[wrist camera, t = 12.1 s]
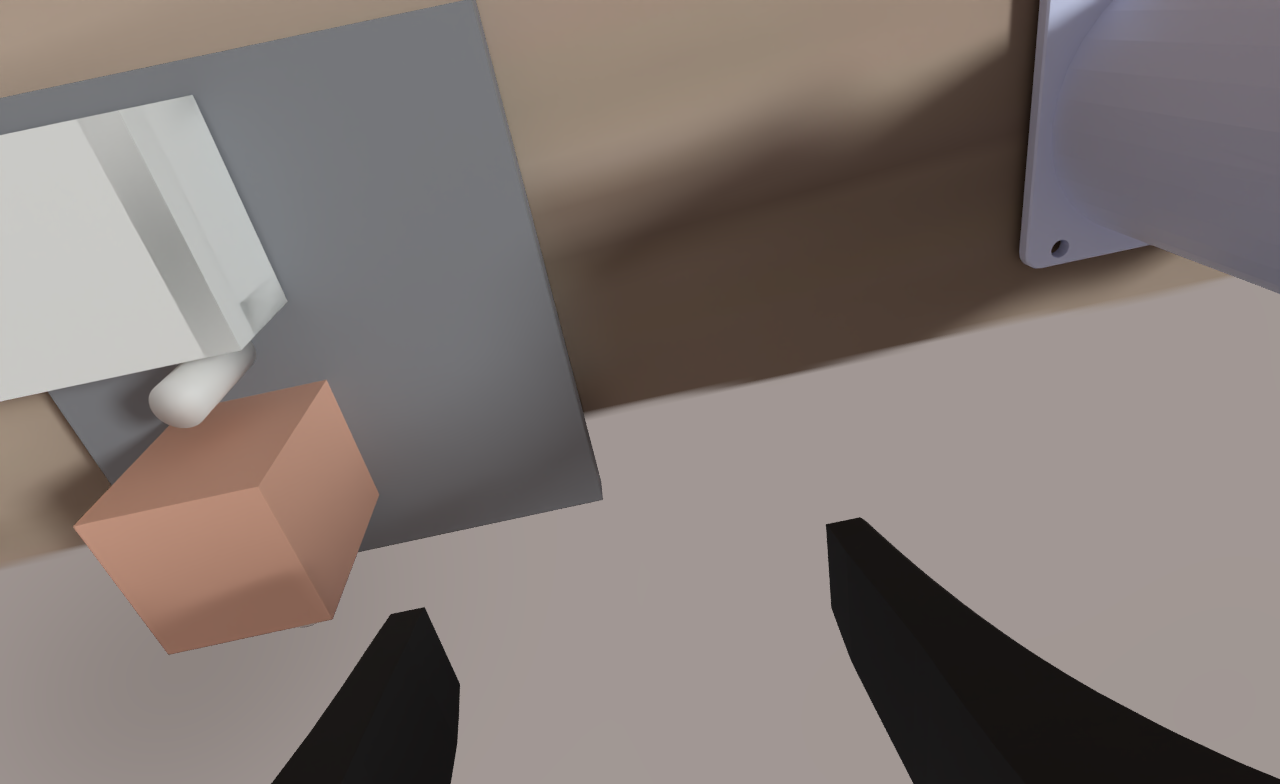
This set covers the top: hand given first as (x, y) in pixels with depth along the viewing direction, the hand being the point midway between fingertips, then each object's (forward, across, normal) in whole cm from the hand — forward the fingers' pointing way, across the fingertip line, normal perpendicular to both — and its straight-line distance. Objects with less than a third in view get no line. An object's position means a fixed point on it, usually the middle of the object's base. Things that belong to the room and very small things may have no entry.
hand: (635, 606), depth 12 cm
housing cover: (+9, +11, -7) cm, 15 cm away
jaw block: (+9, +10, 0) cm, 13 cm away
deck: (+10, +8, -3) cm, 13 cm away
